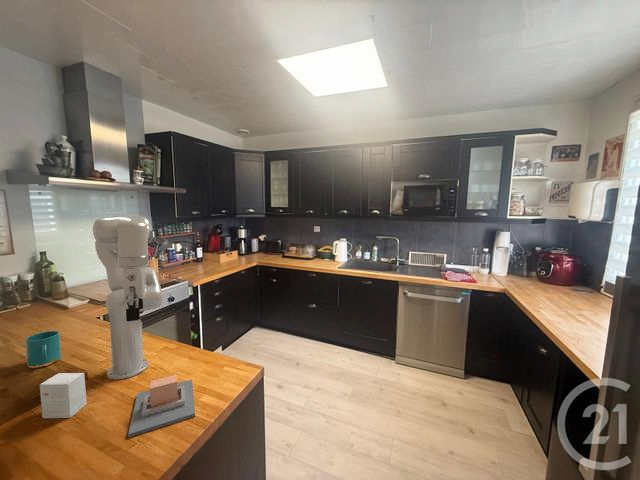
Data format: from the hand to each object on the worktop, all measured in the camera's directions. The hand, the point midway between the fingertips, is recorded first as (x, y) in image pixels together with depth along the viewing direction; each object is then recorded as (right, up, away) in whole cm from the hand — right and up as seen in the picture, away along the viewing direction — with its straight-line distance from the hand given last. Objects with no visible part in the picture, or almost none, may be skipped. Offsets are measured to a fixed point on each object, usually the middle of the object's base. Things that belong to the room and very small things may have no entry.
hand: (135, 314), depth 80 cm
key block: (+10, -27, -1) cm, 29 cm away
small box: (-18, -28, -4) cm, 34 cm away
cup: (-50, -26, +19) cm, 59 cm away
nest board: (+10, -28, -1) cm, 30 cm away
